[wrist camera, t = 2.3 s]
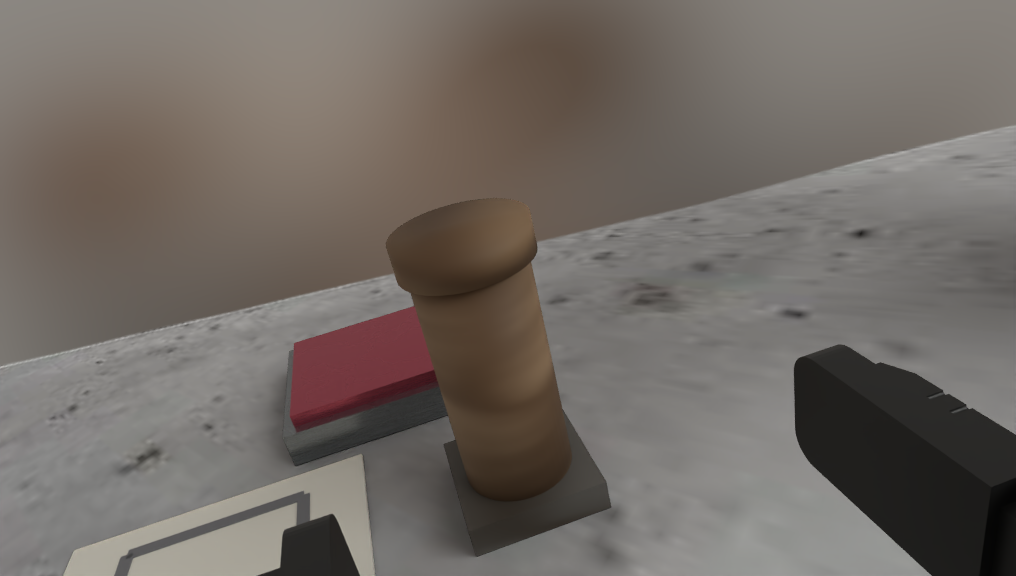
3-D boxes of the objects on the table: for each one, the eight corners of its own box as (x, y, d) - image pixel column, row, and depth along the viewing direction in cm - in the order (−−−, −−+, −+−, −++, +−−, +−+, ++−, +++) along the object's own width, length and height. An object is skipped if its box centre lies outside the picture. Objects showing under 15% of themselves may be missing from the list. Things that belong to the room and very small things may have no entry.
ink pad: (439, 331, 38) (429, 297, 37) (468, 408, 31) (456, 368, 30) (299, 375, 37) (285, 341, 36) (295, 465, 30) (277, 426, 29)
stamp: (564, 427, 28) (512, 184, 24) (611, 507, 24) (558, 228, 19) (450, 466, 28) (373, 224, 23) (476, 556, 23) (387, 279, 18)
